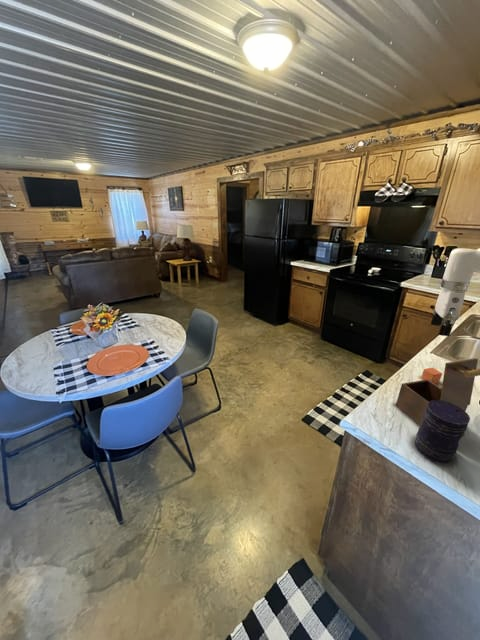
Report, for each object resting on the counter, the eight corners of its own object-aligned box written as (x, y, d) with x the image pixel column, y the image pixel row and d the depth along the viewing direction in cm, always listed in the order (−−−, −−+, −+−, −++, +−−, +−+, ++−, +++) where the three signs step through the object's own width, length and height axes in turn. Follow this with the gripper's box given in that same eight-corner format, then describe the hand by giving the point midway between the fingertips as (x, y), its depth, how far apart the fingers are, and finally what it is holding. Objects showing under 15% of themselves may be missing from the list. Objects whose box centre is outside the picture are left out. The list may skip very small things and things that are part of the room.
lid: (445, 362, 78) (462, 369, 73) (475, 358, 80) (493, 363, 76) (438, 409, 81) (454, 418, 77) (467, 403, 84) (484, 411, 79)
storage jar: (429, 465, 75) (445, 425, 69) (406, 437, 84) (419, 400, 78) (461, 463, 76) (480, 423, 70) (436, 436, 85) (450, 398, 79)
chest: (395, 405, 98) (401, 383, 94) (420, 400, 101) (427, 379, 97) (430, 435, 85) (439, 411, 81) (458, 428, 88) (468, 405, 84)
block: (429, 376, 115) (432, 367, 114) (439, 382, 111) (442, 373, 109) (421, 377, 114) (424, 368, 112) (430, 384, 110) (433, 374, 108)
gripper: (478, 293, 82) (460, 341, 89) (457, 280, 97) (443, 322, 104) (450, 290, 85) (434, 338, 91) (434, 278, 99) (421, 320, 106)
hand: (439, 330), depth 97 cm, fingers open, 9 cm apart
